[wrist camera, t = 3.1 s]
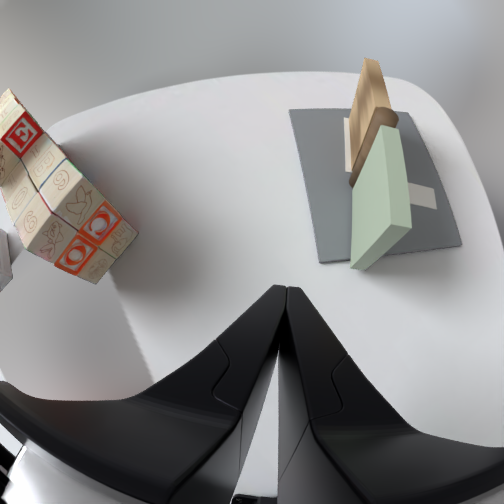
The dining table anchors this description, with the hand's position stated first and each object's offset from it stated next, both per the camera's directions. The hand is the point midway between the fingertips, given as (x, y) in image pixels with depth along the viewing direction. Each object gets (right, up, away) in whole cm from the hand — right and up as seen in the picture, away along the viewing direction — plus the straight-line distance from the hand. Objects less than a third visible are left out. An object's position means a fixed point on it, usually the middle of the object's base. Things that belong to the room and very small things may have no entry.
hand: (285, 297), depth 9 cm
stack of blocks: (-21, +7, +17) cm, 27 cm away
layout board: (+10, +9, +15) cm, 20 cm away
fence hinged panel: (+7, +3, +12) cm, 15 cm away
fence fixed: (+9, +11, +15) cm, 20 cm away
